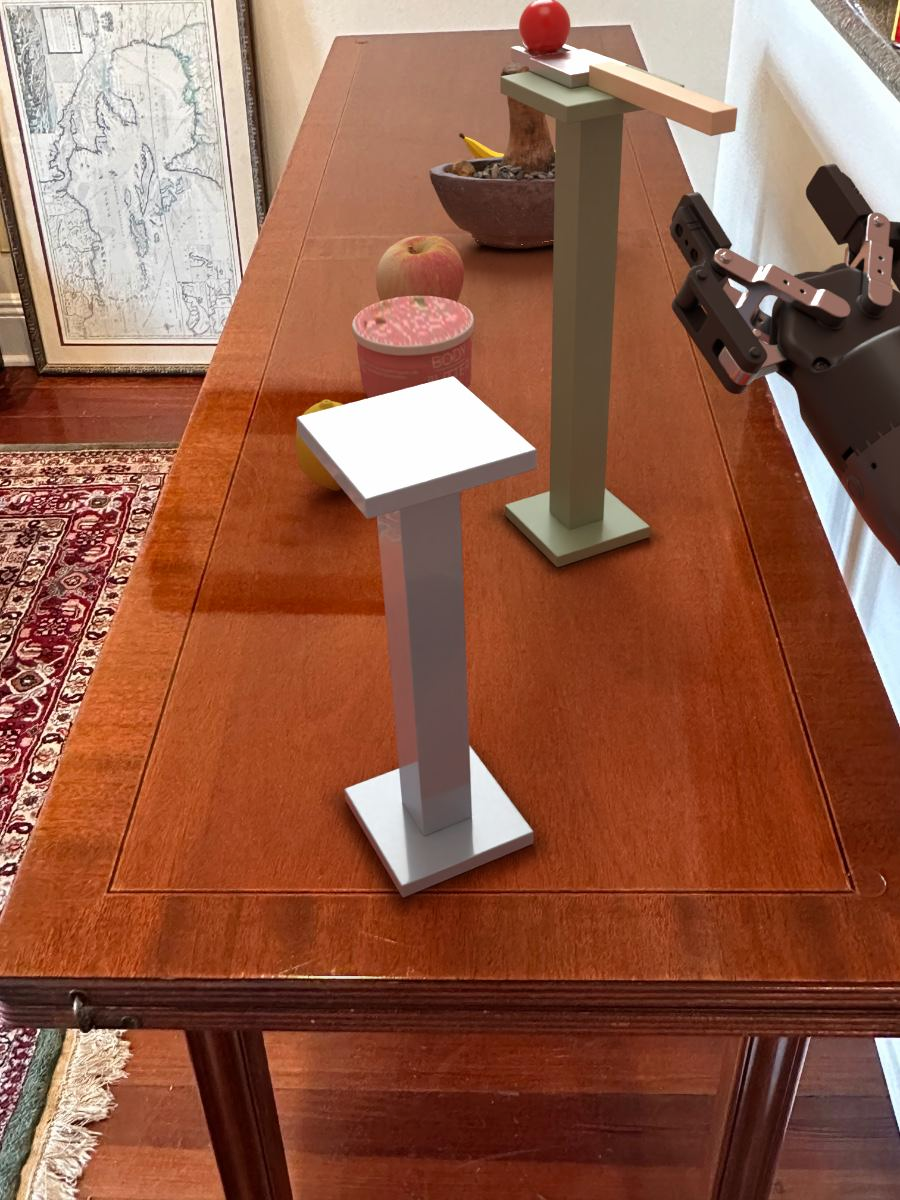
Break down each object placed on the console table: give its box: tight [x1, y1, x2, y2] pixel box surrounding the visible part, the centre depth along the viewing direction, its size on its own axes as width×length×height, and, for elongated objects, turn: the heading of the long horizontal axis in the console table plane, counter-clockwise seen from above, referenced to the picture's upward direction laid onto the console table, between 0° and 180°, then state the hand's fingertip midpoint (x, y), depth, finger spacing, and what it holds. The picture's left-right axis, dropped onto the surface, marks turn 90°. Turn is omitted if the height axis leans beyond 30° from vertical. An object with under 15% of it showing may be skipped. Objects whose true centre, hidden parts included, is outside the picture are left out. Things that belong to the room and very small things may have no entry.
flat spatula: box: [510, 0, 738, 137], centre depth 68 cm, size 20×4×4 cm, turn 26°
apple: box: [375, 235, 465, 302], centre depth 119 cm, size 9×9×8 cm
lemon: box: [294, 399, 344, 492], centre depth 94 cm, size 6×6×8 cm
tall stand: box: [499, 57, 685, 568], centre depth 81 cm, size 8×8×32 cm
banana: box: [458, 132, 555, 159], centre depth 153 cm, size 3×19×6 cm, turn 95°
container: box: [351, 296, 475, 399], centre depth 105 cm, size 10×10×8 cm
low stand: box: [296, 377, 538, 898], centre depth 60 cm, size 8×8×25 cm
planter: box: [429, 60, 555, 250], centre depth 131 cm, size 15×17×20 cm
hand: (751, 190), depth 61 cm, fingers open, 8 cm apart
